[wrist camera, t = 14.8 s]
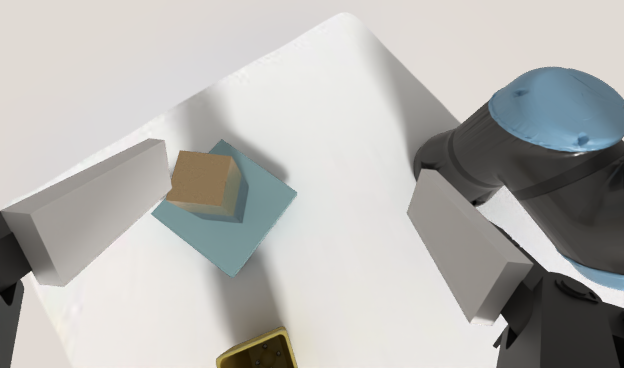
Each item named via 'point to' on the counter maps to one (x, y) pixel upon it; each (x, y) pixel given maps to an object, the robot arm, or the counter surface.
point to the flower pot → (260, 352)
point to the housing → (209, 187)
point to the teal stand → (226, 235)
